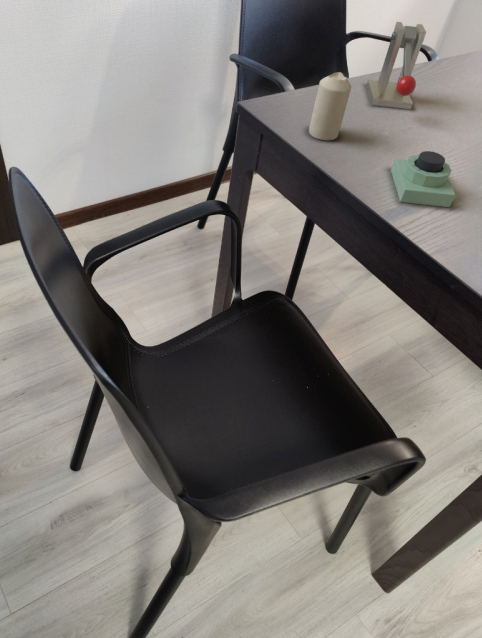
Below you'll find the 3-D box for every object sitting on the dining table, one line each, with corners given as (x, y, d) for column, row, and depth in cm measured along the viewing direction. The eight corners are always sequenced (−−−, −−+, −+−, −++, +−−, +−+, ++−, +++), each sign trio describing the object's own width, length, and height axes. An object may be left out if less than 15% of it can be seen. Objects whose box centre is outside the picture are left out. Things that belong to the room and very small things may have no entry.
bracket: (410, 109, 103) (437, 37, 93) (371, 105, 103) (394, 33, 93) (402, 89, 109) (427, 20, 99) (366, 85, 109) (386, 16, 99)
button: (437, 162, 82) (442, 152, 80) (442, 175, 79) (447, 164, 78) (413, 160, 82) (417, 149, 81) (417, 172, 79) (422, 162, 78)
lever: (411, 101, 97) (418, 87, 93) (393, 99, 97) (400, 85, 93) (412, 39, 100) (420, 24, 96) (395, 38, 100) (402, 22, 96)
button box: (436, 175, 86) (447, 152, 83) (449, 207, 80) (461, 184, 77) (390, 170, 87) (399, 147, 83) (399, 202, 80) (409, 178, 77)
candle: (313, 124, 96) (327, 66, 88) (341, 131, 95) (357, 73, 87) (304, 135, 93) (317, 76, 85) (333, 143, 91) (349, 84, 84)
